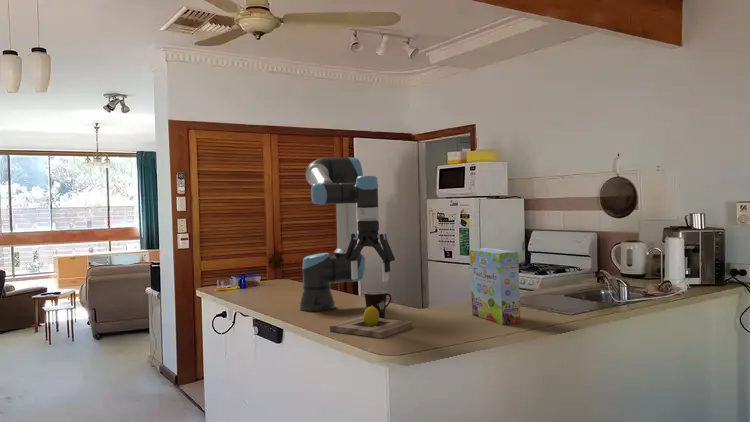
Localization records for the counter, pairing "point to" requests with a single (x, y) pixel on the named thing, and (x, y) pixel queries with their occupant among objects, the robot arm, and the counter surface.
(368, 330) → the pocket board
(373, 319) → the lemon
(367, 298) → the coffee mug
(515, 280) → the snack box
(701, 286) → the counter surface
